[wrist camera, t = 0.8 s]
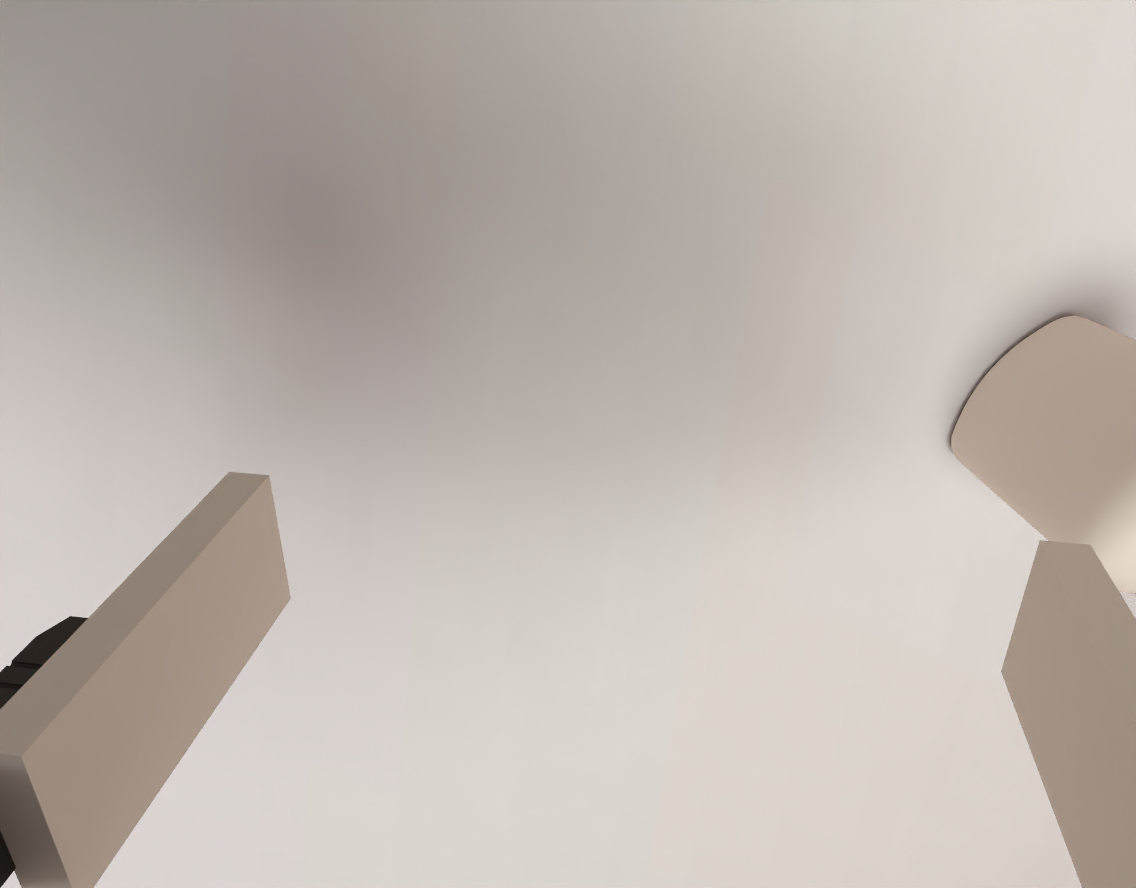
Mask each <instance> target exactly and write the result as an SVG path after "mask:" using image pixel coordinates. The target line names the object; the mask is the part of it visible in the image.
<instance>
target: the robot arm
mask: <svg viewBox="0 0 1136 888" xmlns="http://www.w3.org/2000/svg"><path fill="white" fill-rule="evenodd" d="M289 600H290V592H289V586H288V581H287V575H286V569H285V563H284V558H283V552H282V546H281V540H280V535H279V529H278V523H277V518H276V512H275V506H274V500H273V495H272V489H271V483H270V478H269V475H258V474H247V473H235V472H229V473H228V474H227V475H226V476H225V477H224V478H223V479H222V480H221V481H220V482H219V483H218V484H217V485H216V486H215V487H214V488H213V489H212V490H211V491H210V492H209V494H208V495H207V496H206V497H205V498H204V499H203V500H202V501H201V502H200V503H199V504H198V505H197V506H196V507H195V508H194V509H193V510H192V511H191V512H190V513H189V514H188V515H187V516H186V517H185V518H184V519H183V520H182V522H181V523H180V524H179V525H178V526H177V527H176V528H175V529H174V530H173V531H172V532H171V533H170V534H169V535H168V536H167V537H166V538H165V539H164V540H163V541H162V542H161V543H160V544H159V545H158V546H157V547H156V548H155V550H154V551H153V552H152V553H151V554H150V555H149V556H148V557H147V558H146V559H145V560H144V561H143V562H142V563H141V564H140V565H139V566H138V567H137V568H136V569H135V570H134V571H133V572H132V573H131V574H130V575H129V576H128V578H127V579H126V580H125V581H124V582H123V583H122V584H121V585H120V586H119V587H118V588H117V589H116V590H115V591H114V592H113V593H112V594H111V595H110V596H109V597H108V598H107V599H106V600H105V601H104V602H103V603H102V604H101V606H100V607H99V608H98V609H97V610H96V611H95V612H94V613H93V614H92V615H91V616H90V617H89V618H81V617H72V616H70V617H68V618H67V619H65V620H63V621H62V622H60V623H58V624H57V625H55V626H53V627H52V628H50V629H48V630H47V631H45V632H43V633H41V634H40V635H38V636H36V637H35V638H34V639H33V640H32V641H31V642H30V643H29V644H28V645H27V646H26V647H25V648H24V649H23V650H22V651H21V652H20V653H19V654H18V655H17V656H16V657H15V658H14V659H13V660H12V664H11V666H6V667H5V668H4V669H3V670H2V671H1V672H0V888H1V886H2V885H3V884H4V883H5V881H6V880H7V879H8V877H9V876H10V875H11V874H12V872H13V871H15V873H16V875H17V878H18V880H19V882H20V885H21V887H22V888H94V886H95V885H96V883H97V882H98V880H99V879H100V877H101V876H102V874H103V873H104V871H105V870H106V868H107V867H108V865H109V864H110V863H111V861H112V860H113V858H114V857H115V855H116V854H117V852H118V851H119V849H120V848H121V846H122V845H123V843H124V842H125V841H126V839H127V838H128V836H129V835H130V833H131V832H132V830H133V829H134V827H135V826H136V824H137V823H138V821H139V820H140V819H141V817H142V816H143V814H144V813H145V811H146V810H147V808H148V807H149V805H150V804H151V802H152V801H153V799H154V798H155V797H156V795H157V794H158V792H159V791H160V789H161V788H162V786H163V785H164V783H165V782H166V780H167V779H168V777H169V776H170V774H171V773H172V772H173V770H174V769H175V767H176V766H177V764H178V763H179V761H180V760H181V758H182V757H183V755H184V754H185V752H186V751H187V750H188V748H189V747H190V745H191V744H192V742H193V741H194V739H195V738H196V736H197V735H198V733H199V732H200V730H201V729H202V728H203V726H204V725H205V723H206V722H207V720H208V719H209V717H210V716H211V714H212V713H213V711H214V710H215V708H216V707H217V705H218V704H219V703H220V701H221V700H222V698H223V697H224V695H225V694H226V692H227V691H228V689H229V688H230V686H231V685H232V683H233V682H234V681H235V679H236V678H237V676H238V675H239V673H240V672H241V670H242V669H243V667H244V666H245V664H246V663H247V661H248V660H249V659H250V657H251V656H252V654H253V653H254V651H255V650H256V648H257V647H258V645H259V644H260V642H261V641H262V639H263V638H264V637H265V635H266V634H267V632H268V631H269V629H270V628H271V626H272V625H273V623H274V622H275V620H276V619H277V617H278V616H279V614H280V613H281V612H282V610H283V609H284V607H285V606H286V604H287V603H288V601H289ZM1001 672H1002V675H1003V678H1004V680H1005V683H1006V686H1007V688H1008V691H1009V694H1010V696H1011V699H1012V702H1013V704H1014V707H1015V710H1016V712H1017V715H1018V718H1019V720H1020V723H1021V726H1022V728H1023V731H1024V734H1025V736H1026V739H1027V742H1028V744H1029V747H1030V750H1031V752H1032V755H1033V758H1034V760H1035V763H1036V766H1037V768H1038V771H1039V774H1040V776H1041V779H1042V782H1043V784H1044V787H1045V790H1046V792H1047V795H1048V798H1049V800H1050V803H1051V806H1052V808H1053V811H1054V814H1055V816H1056V819H1057V822H1058V824H1059V827H1060V830H1061V832H1062V835H1063V838H1064V840H1065V843H1066V846H1067V848H1068V851H1069V854H1070V856H1071V859H1072V862H1073V864H1074V867H1075V870H1076V872H1077V875H1078V878H1079V880H1080V883H1081V886H1082V888H1136V619H1135V617H1134V616H1133V614H1132V612H1131V611H1130V609H1129V607H1128V606H1127V604H1126V603H1125V601H1124V599H1123V598H1122V596H1121V594H1120V593H1119V591H1118V589H1117V588H1116V586H1115V584H1114V583H1113V581H1112V579H1111V578H1110V576H1109V574H1108V573H1107V571H1106V570H1105V568H1104V566H1103V565H1102V563H1101V561H1100V560H1099V558H1098V556H1097V555H1096V553H1095V551H1094V550H1093V548H1092V546H1091V545H1088V544H1076V543H1064V542H1053V541H1041V540H1040V541H1039V545H1038V548H1037V551H1036V555H1035V558H1034V562H1033V565H1032V568H1031V572H1030V575H1029V579H1028V582H1027V585H1026V589H1025V592H1024V596H1023V599H1022V602H1021V606H1020V609H1019V613H1018V616H1017V619H1016V623H1015V626H1014V630H1013V633H1012V636H1011V640H1010V643H1009V647H1008V650H1007V653H1006V657H1005V660H1004V664H1003V667H1002V670H1001Z"/></svg>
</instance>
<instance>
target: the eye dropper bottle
mask: <svg viewBox="0 0 1136 888" xmlns="http://www.w3.org/2000/svg"><path fill="white" fill-rule="evenodd" d="M951 449H952V452H953V453H954V455H955V456H956V458H957V459H958V460H959V461H960V462H961V463H962V464H963V465H964V466H965V467H966V468H967V469H969V470H970V471H971V472H972V473H973V474H974V475H975V476H976V477H977V478H979V479H980V480H981V481H982V482H983V483H984V484H985V485H986V486H988V487H989V488H990V489H991V490H992V491H993V492H994V493H995V494H997V495H998V496H999V497H1000V498H1001V499H1002V500H1003V501H1004V502H1006V503H1007V504H1008V505H1009V506H1010V507H1011V508H1012V509H1013V510H1015V511H1016V512H1017V513H1018V514H1019V515H1020V516H1021V517H1023V518H1024V519H1025V520H1026V521H1027V522H1028V523H1029V524H1030V525H1032V526H1033V527H1034V528H1035V529H1036V530H1037V531H1038V532H1040V533H1041V534H1042V535H1043V536H1044V537H1045V538H1046V539H1048V540H1049V541H1053V542H1064V543H1076V544H1088V545H1091V546H1092V548H1093V550H1094V551H1095V553H1096V555H1097V556H1098V558H1099V560H1100V561H1101V563H1102V565H1103V566H1104V568H1105V570H1106V571H1107V573H1108V574H1109V576H1110V578H1111V579H1112V581H1113V583H1114V584H1115V586H1116V588H1117V589H1118V591H1120V592H1124V593H1136V340H1133V339H1131V338H1129V337H1127V336H1124V335H1122V334H1120V333H1118V332H1116V331H1113V330H1111V329H1109V328H1107V327H1105V326H1102V325H1100V324H1098V323H1096V322H1093V321H1091V320H1089V319H1086V318H1083V317H1080V316H1076V315H1073V316H1067V317H1062V318H1059V319H1057V320H1055V321H1053V322H1051V323H1049V324H1047V325H1046V326H1044V327H1042V328H1040V329H1039V330H1037V331H1036V332H1034V333H1033V334H1031V335H1030V336H1028V337H1027V338H1025V339H1024V340H1023V341H1021V342H1020V343H1019V344H1017V345H1016V346H1015V347H1014V348H1012V349H1011V350H1010V351H1009V352H1008V353H1007V354H1005V355H1004V356H1003V357H1002V358H1001V359H1000V360H999V361H998V362H997V363H996V364H995V365H994V366H993V367H992V368H991V370H990V371H989V372H988V373H987V374H986V375H985V377H984V378H983V379H982V381H981V382H980V383H979V384H978V386H977V387H976V389H975V390H974V392H973V393H972V395H971V396H970V398H969V400H968V401H967V403H966V405H965V407H964V409H963V411H962V413H961V415H960V417H959V419H958V421H957V424H956V426H955V428H954V431H953V434H952V437H951Z"/></svg>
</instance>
